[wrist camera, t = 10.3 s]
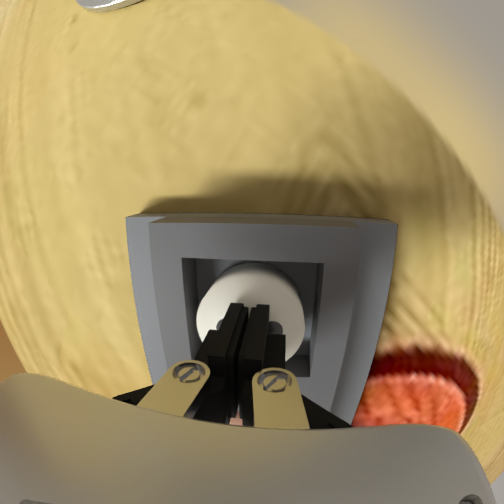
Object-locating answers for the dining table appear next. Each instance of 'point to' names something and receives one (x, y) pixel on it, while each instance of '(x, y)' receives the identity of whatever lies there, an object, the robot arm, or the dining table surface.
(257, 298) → the button two
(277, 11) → the dining table surface
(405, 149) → the dining table surface
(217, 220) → the button board
